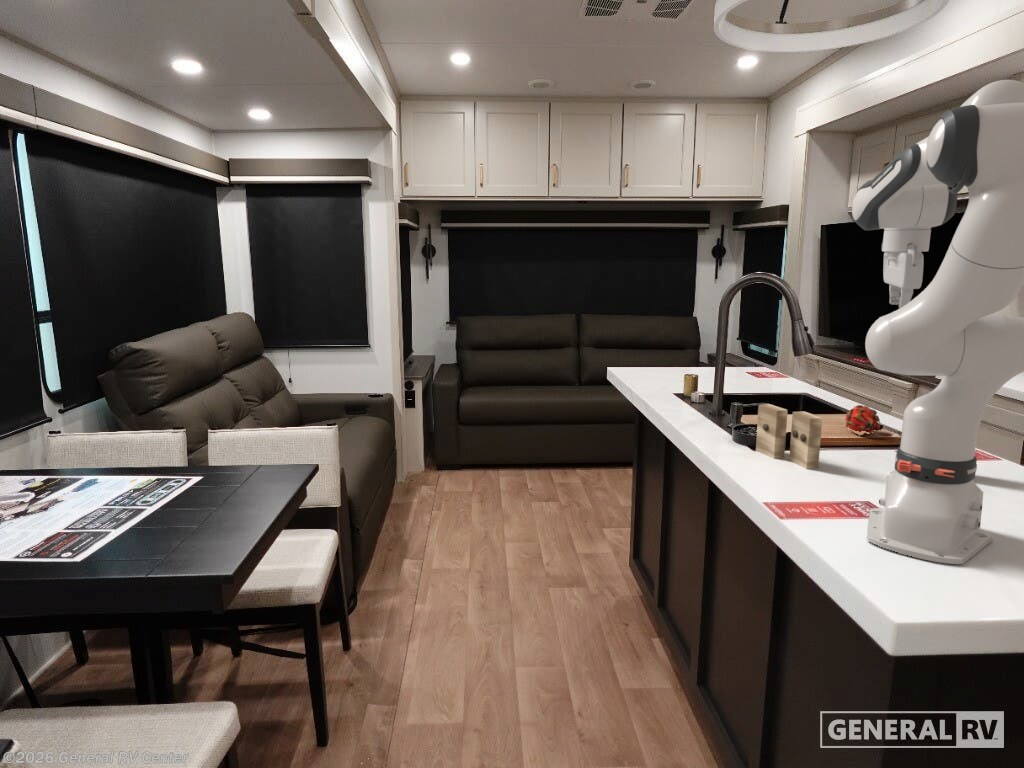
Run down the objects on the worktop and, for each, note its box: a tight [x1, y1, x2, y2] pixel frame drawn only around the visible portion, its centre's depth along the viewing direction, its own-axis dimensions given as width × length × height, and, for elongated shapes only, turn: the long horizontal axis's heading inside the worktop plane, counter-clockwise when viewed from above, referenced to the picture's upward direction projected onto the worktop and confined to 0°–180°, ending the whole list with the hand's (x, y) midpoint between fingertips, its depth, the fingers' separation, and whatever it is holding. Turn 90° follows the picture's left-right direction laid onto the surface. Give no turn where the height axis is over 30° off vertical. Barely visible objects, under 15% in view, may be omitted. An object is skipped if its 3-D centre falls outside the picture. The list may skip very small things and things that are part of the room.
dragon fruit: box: [845, 404, 884, 434], centre depth 178 cm, size 8×8×12 cm
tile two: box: [789, 411, 823, 470], centre depth 152 cm, size 4×7×12 cm, turn 9°
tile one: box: [755, 403, 788, 460], centre depth 161 cm, size 4×7×12 cm, turn 16°
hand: (898, 306), depth 145 cm, fingers open, 8 cm apart
